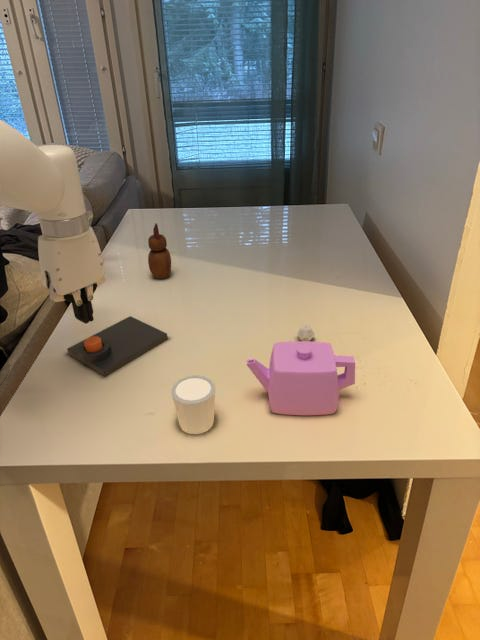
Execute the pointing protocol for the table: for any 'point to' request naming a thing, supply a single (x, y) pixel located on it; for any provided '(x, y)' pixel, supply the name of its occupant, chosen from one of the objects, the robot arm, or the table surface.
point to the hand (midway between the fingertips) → (85, 319)
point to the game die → (305, 333)
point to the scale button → (93, 344)
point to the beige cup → (194, 403)
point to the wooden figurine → (159, 255)
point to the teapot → (304, 377)
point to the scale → (119, 345)
